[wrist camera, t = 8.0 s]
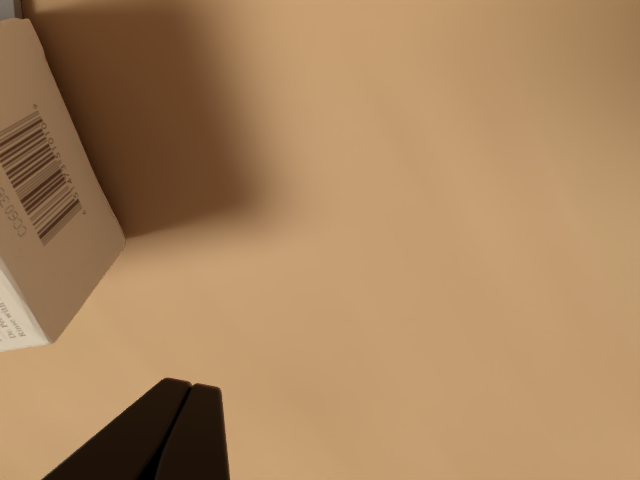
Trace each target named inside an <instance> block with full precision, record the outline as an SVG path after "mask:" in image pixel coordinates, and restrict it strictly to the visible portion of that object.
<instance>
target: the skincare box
mask: <svg viewBox="0 0 640 480" xmlns="http://www.w3.org/2000/svg"><path fill="white" fill-rule="evenodd" d="M124 247H125V236H124V233H123V231H122V229H121V227H120V225H119V223H118V220H117V218H116V217H115V215H114V213H113V211H112V209H111V207H110V205H109V203H108V201H107V199H106V197H105V195H104V193H103V191H102V189H101V187H100V185H99V183H98V180H97V178H96V176H95V174H94V172H93V170H92V167H91V165H90V162H89V160H88V158H87V155H86V153H85V150H84V148H83V146H82V143H81V141H80V139H79V136H78V134H77V131H76V129H75V127H74V124H73V122H72V120H71V117H70V115H69V113H68V110H67V108H66V106H65V103H64V101H63V99H62V96H61V94H60V92H59V89H58V87H57V85H56V82H55V80H54V77H53V75H52V73H51V70H50V68H49V66H48V63H47V61H46V58H45V54H44V50H43V47H42V45H41V43H40V41H39V38H38V36H37V34H36V32H35V30H34V28H33V26H32V23H31V21H30V20H29V19H28V18H27V19H22V20H21V19H19V18H9V19H5V20H1V21H0V352H4V351H10V350H16V349H22V348H29V347H36V346H42V345H50V344H52V343H54V342H55V341H56V340H57V339H58V338H59V337H60V335H61V334H62V333H63V331H64V330H65V329H66V327H67V326H68V324H69V323H70V322H71V320H72V319H73V318H74V316H75V315H76V314H77V312H78V311H79V310H80V309H81V307H82V306H83V304H84V303H85V301H86V300H87V298H88V297H89V296H90V294H91V293H92V291H93V290H94V289H95V287H96V286H97V285H98V283H99V282H100V280H101V279H102V278H103V276H104V275H105V274H106V272H107V271H108V269H109V268H110V267H111V265H112V264H113V263H114V261H115V260H116V259H117V257H118V256H119V254H120V253H121V252H122V250H123V249H124Z"/></svg>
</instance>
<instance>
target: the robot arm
mask: <svg viewBox="0 0 640 480" xmlns="http://www.w3.org/2000/svg"><path fill="white" fill-rule="evenodd" d="M41 480H230V473H229V463H228V453H227V443H226V433H225V423H224V413H223V403H222V393H221V390H220V388H219V387H215V386H210V385H204V384H199V383H196V384H194V385H193V386H192V384H191V383H190V382H188V381H184V380H178V379H173V378H164V379H162V380H161V381H160V382H159V383H157V384H156V385H155V386H154V387H152V388H151V389H150V390H149V391H148V392H146V393H145V394H144V395H143V396H142V397H140V398H139V399H138V400H137V401H136V402H134V403H133V404H132V405H131V406H130V407H128V408H127V409H126V410H125V411H123V412H122V413H121V414H120V415H119V416H117V417H116V418H115V419H114V420H113V421H111V422H110V423H109V424H108V425H107V426H105V427H104V428H103V429H102V430H101V431H99V432H98V433H97V434H96V435H94V436H93V437H92V438H91V439H90V440H88V441H87V442H86V443H85V444H84V445H82V446H81V447H80V448H79V449H78V450H76V451H75V452H74V453H73V454H72V455H70V456H69V457H68V458H67V459H65V460H64V461H63V462H62V463H61V464H59V465H58V466H57V467H56V468H55V469H53V470H52V471H51V472H50V473H49V474H47V475H46V476H45V477H44V478H43V479H41Z"/></svg>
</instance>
